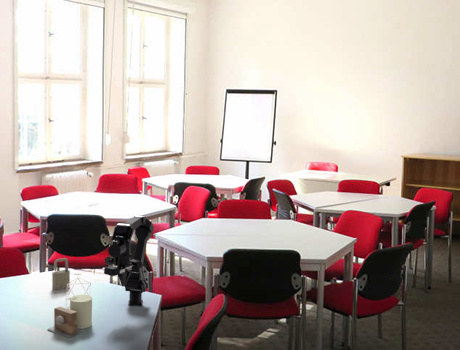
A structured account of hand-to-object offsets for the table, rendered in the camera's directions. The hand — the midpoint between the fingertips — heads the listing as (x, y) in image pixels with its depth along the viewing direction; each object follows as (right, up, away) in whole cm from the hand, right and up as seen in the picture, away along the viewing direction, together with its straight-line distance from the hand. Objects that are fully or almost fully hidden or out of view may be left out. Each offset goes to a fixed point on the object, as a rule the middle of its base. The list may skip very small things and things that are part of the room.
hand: (123, 286), depth 258 cm
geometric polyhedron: (-25, -10, +19) cm, 33 cm away
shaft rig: (-20, -15, -19) cm, 32 cm away
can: (-16, -14, -12) cm, 24 cm away
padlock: (-38, -8, +35) cm, 52 cm away
